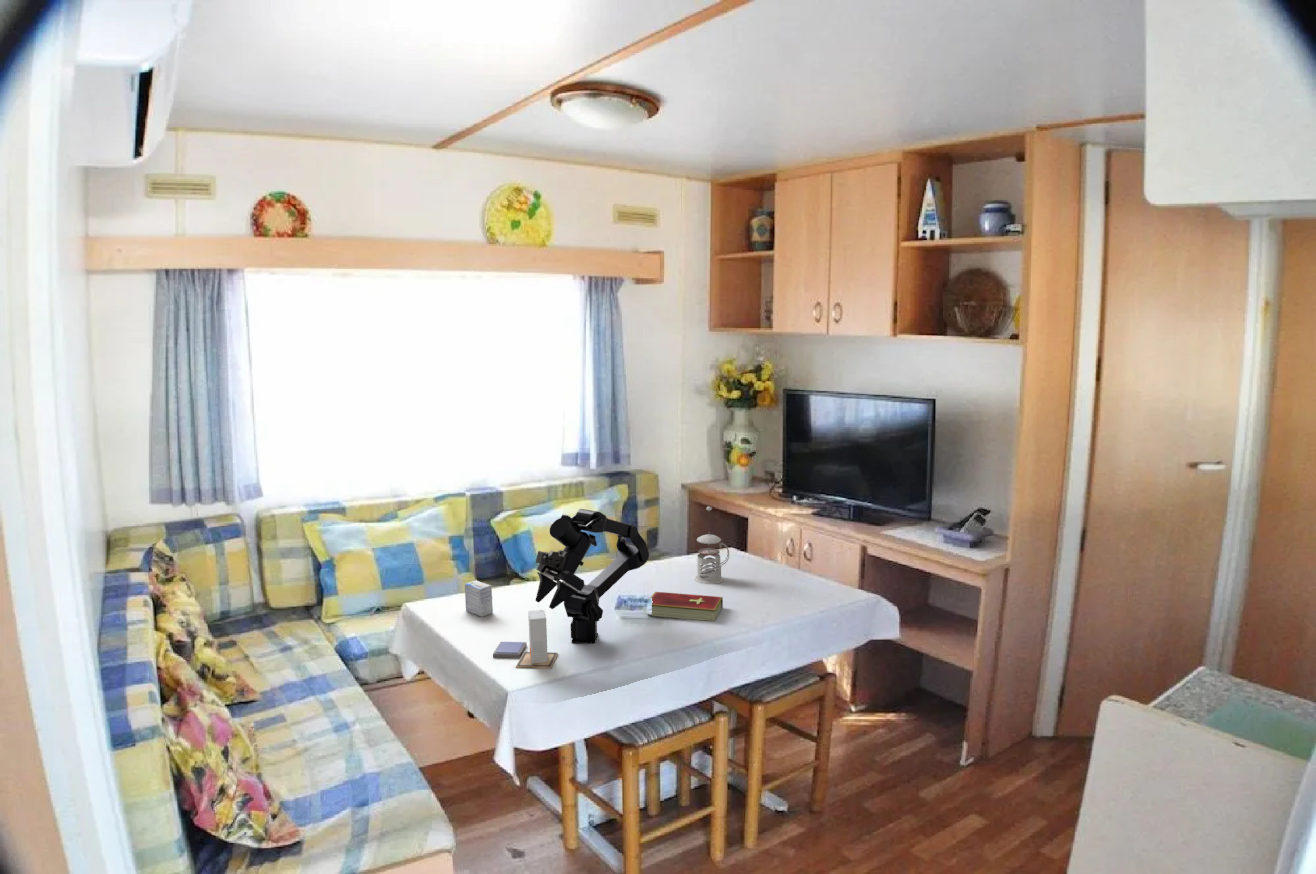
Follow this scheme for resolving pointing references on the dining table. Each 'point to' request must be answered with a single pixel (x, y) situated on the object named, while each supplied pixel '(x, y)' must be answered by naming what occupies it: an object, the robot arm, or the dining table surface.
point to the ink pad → (510, 649)
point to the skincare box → (538, 636)
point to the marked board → (526, 663)
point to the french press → (709, 560)
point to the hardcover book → (686, 606)
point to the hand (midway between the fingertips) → (543, 605)
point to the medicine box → (478, 598)
